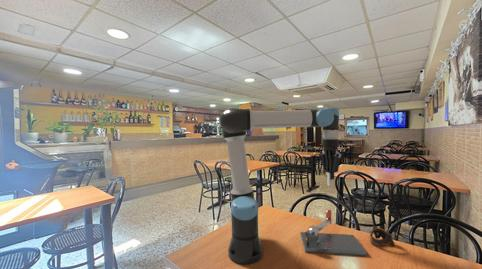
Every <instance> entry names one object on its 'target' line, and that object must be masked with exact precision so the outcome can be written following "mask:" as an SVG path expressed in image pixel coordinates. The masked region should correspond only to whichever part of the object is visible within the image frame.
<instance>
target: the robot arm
mask: <svg viewBox="0 0 482 269" xmlns="http://www.w3.org/2000/svg"><path fill="white" fill-rule="evenodd" d="M219 125H220V127H221V131H222V138H223V140H225V141H226V143H227V144H226V146H227V153H228V160H229V168H230V175H231V182H232V184H231V185H232V189H231V190H230V198H231V205H230V211H231V238H230V242H229V245H228V250H227V254H228V257H229V259H230V260H231V261H232V260H233V261H232V262H234V263H236V264H239V265H250V264H254V263H257V262H259V261H260V260H261V259H262V257H263V256H264V252H263V250H264V248H263V246H262V243H261V239H260V237H259V205H258V200H256V199H255V198H256V197H255V193H254V192H255V191H254V188H253V187H252V186H251V184H250V176H249V170H248V160H247V153H246V146H245V138H246V136H247V132H249V131H250V132H251V131H252V130H253V129H276V128H277V129H278V128H280V129H283V128H322V135H321V136H322V137H321V138H322V147H323V150H322V151H319V154H320V157H321V163H322V169H323V171H325V172H326V185H327V186H328V187H332V186H334V180H335V174H336V173H338V171H339V167H340V163H341V159H342V156H343V153H341V152H339V149H338V147H339V144H340V143H339V142H340V140H339V137H340V134H339V133H340V132H339V129H340V128H339V127H340V126H339V125H340V111H339V108H338V107H325V108H321V109H291V110H290V109H288V110H287V109H286V110H284V109H283V110H252V109H251V108H236V107H232V108H227V109H225V110H224V111H223V112H222V113H221V115H220V117H219Z"/></svg>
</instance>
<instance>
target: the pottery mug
mask: <svg viewBox="0 0 482 269" xmlns="http://www.w3.org/2000/svg"><path fill="white" fill-rule="evenodd" d="M373 234H374V236H373ZM369 235H370V236H369V238H370V240H369V241H370V245H376V246H379V247H380V246H387V245H388V246H390V245H391V244H392V246H393V247H395V241H394V239H393V236H392V235H391V233H390V232H388V231H387V230H385V229H383V228H382V227H381V228H380V227H377V226H376V225H375V226H373V227H372V230H371V231H370V233H369ZM380 238H381V239H380ZM390 243H391V244H390Z"/></svg>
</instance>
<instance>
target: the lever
mask: <svg viewBox="0 0 482 269" xmlns="http://www.w3.org/2000/svg"><path fill="white" fill-rule="evenodd" d="M330 224H332V210H331V209H325V220H323V221H321V222H320V223H318V224H317V225H316V226H314V225H310V226H308V229H307V230H306V231H304V232H305V236H306V237H308V238H309V235H316V236H317V241H318V240H319V233H320V231H322V230H323V229H325V228H326V227H327V226H329V225H330Z"/></svg>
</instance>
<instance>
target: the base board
mask: <svg viewBox="0 0 482 269" xmlns="http://www.w3.org/2000/svg"><path fill="white" fill-rule="evenodd" d="M305 232H306V231H300V238H301V241H302V245H303V246H302V247H303V249H304V252H305V253H314V254H329V255H344V256H345V255H346V256H357V257H358V256H362V257H367V250H365V248H364V246H363V245H362V244H361V242H360V241H359V240H358V239H357V238H356V237H355V235H354V234H345V233H343V234H342V233H326V232H322V233H321V232H319V240H318V241H317V236H316V235H309V243H307V242H306V236H305Z"/></svg>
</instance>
